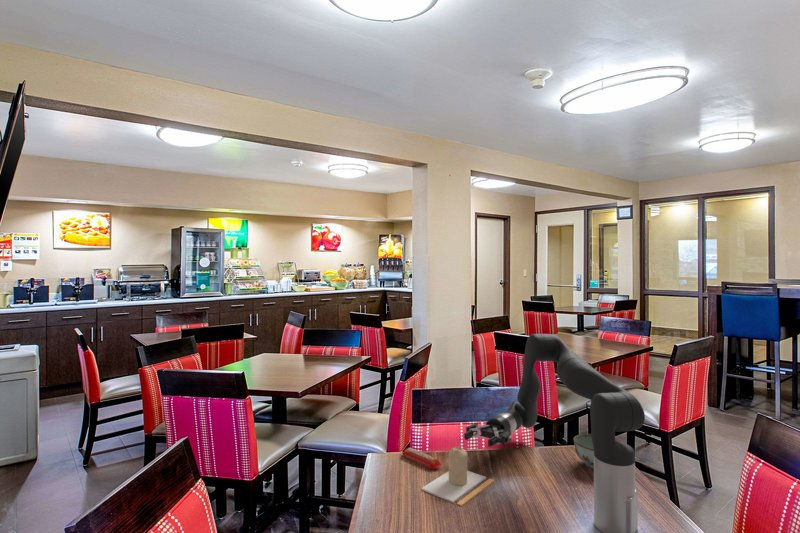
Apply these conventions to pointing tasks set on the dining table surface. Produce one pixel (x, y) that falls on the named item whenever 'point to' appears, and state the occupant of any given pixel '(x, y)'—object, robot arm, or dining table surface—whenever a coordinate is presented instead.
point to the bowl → (585, 449)
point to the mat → (452, 486)
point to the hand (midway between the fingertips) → (477, 440)
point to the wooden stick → (475, 492)
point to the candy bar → (421, 458)
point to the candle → (458, 466)
